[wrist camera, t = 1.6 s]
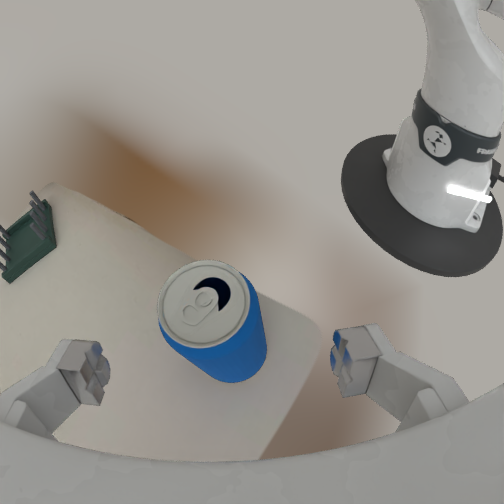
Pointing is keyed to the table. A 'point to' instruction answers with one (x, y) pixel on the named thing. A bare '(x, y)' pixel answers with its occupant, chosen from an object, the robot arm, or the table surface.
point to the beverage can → (213, 320)
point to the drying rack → (27, 239)
